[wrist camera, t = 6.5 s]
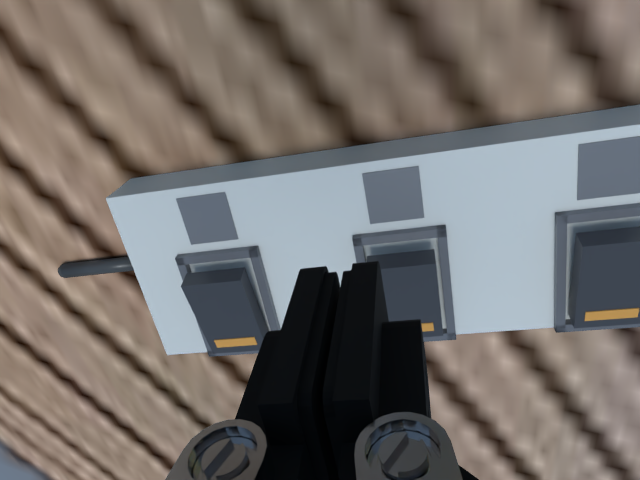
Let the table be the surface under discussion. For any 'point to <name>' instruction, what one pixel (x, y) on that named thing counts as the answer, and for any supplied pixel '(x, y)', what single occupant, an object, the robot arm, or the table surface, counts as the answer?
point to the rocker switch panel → (390, 220)
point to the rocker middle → (412, 288)
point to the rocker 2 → (605, 278)
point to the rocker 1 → (226, 309)
